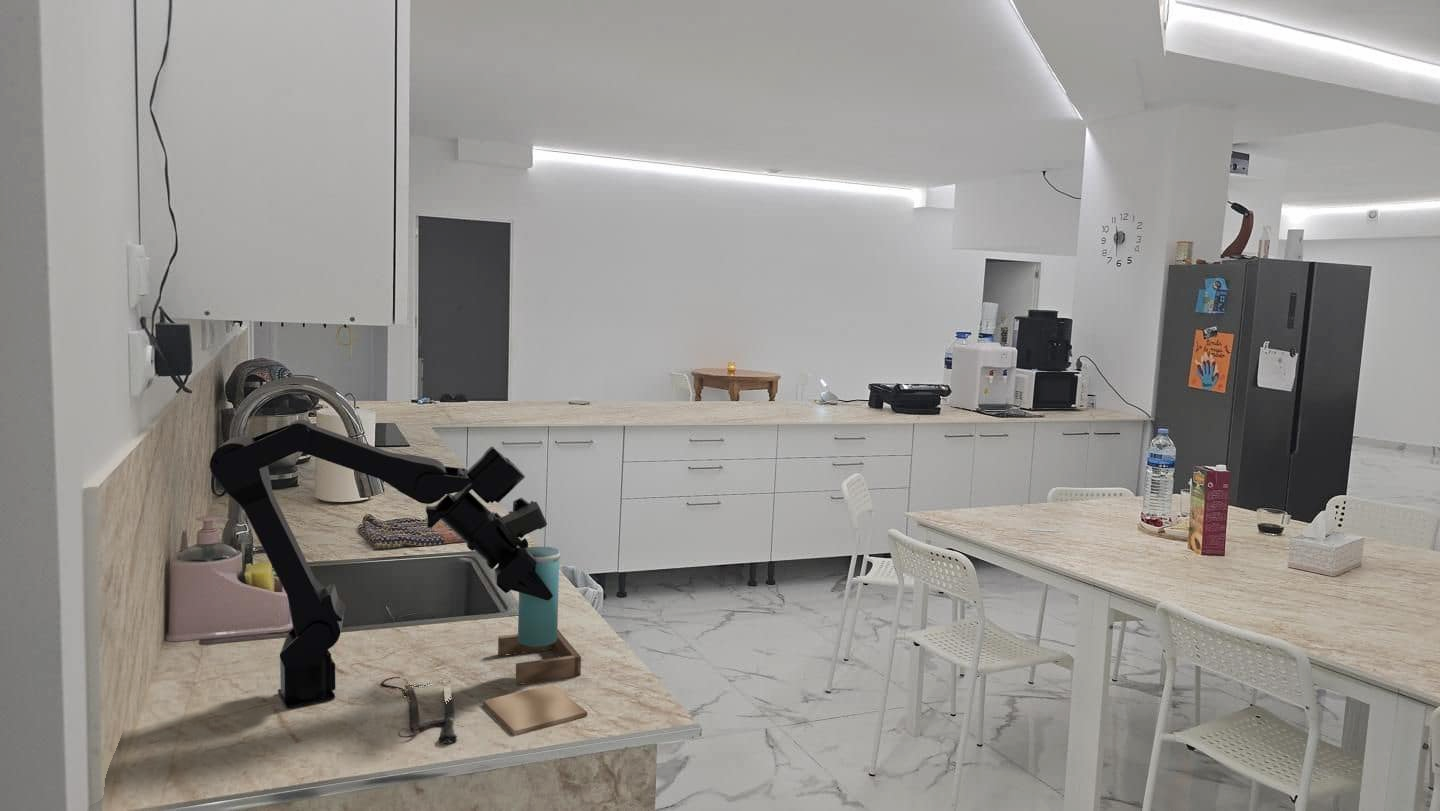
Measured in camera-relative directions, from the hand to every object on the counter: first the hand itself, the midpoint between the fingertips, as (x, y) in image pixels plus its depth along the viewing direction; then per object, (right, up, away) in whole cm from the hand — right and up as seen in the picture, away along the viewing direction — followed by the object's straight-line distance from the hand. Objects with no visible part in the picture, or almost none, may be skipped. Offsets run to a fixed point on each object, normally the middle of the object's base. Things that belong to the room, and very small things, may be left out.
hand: (547, 591), depth 142 cm
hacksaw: (-16, -15, -12) cm, 25 cm away
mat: (0, -15, -11) cm, 18 cm away
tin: (-2, -7, 0) cm, 8 cm away
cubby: (-3, -13, +5) cm, 14 cm away
